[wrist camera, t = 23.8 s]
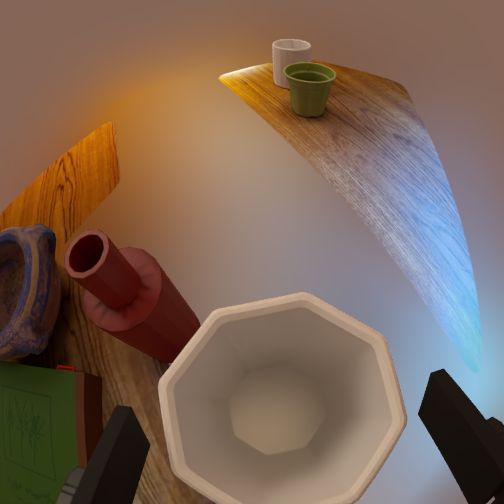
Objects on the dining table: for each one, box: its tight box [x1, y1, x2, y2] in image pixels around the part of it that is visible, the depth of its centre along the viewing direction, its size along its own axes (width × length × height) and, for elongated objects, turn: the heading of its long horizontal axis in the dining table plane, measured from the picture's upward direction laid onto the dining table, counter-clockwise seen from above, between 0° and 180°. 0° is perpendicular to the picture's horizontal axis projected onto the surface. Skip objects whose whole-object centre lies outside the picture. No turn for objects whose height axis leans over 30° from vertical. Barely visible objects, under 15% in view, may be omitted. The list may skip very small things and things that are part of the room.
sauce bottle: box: [65, 230, 201, 363], centre depth 23 cm, size 7×7×18 cm
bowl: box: [0, 224, 61, 359], centre depth 29 cm, size 18×18×10 cm
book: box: [0, 360, 103, 504], centre depth 21 cm, size 25×19×4 cm
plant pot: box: [283, 62, 336, 117], centre depth 47 cm, size 9×9×9 cm
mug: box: [272, 39, 311, 89], centre depth 54 cm, size 8×12×10 cm
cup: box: [158, 292, 407, 504], centre depth 19 cm, size 11×11×18 cm
